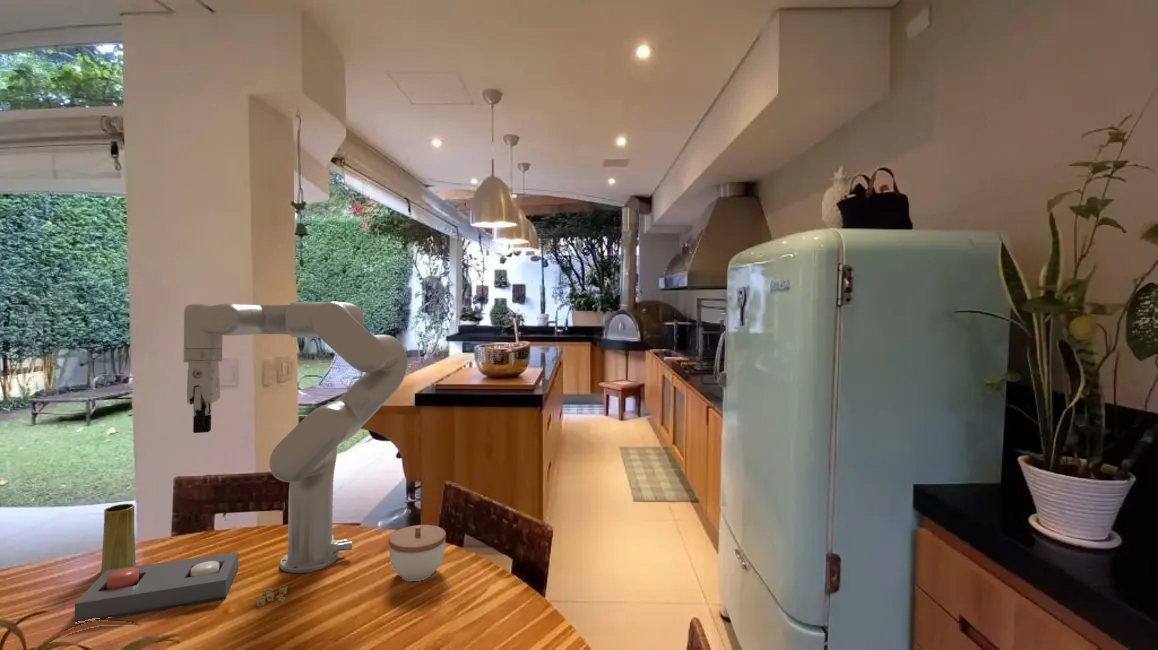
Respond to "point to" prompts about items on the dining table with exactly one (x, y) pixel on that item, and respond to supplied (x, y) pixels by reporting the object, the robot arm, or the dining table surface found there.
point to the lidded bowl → (417, 551)
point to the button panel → (158, 588)
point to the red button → (123, 578)
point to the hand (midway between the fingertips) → (202, 431)
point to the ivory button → (205, 568)
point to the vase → (118, 537)
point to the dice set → (272, 595)
